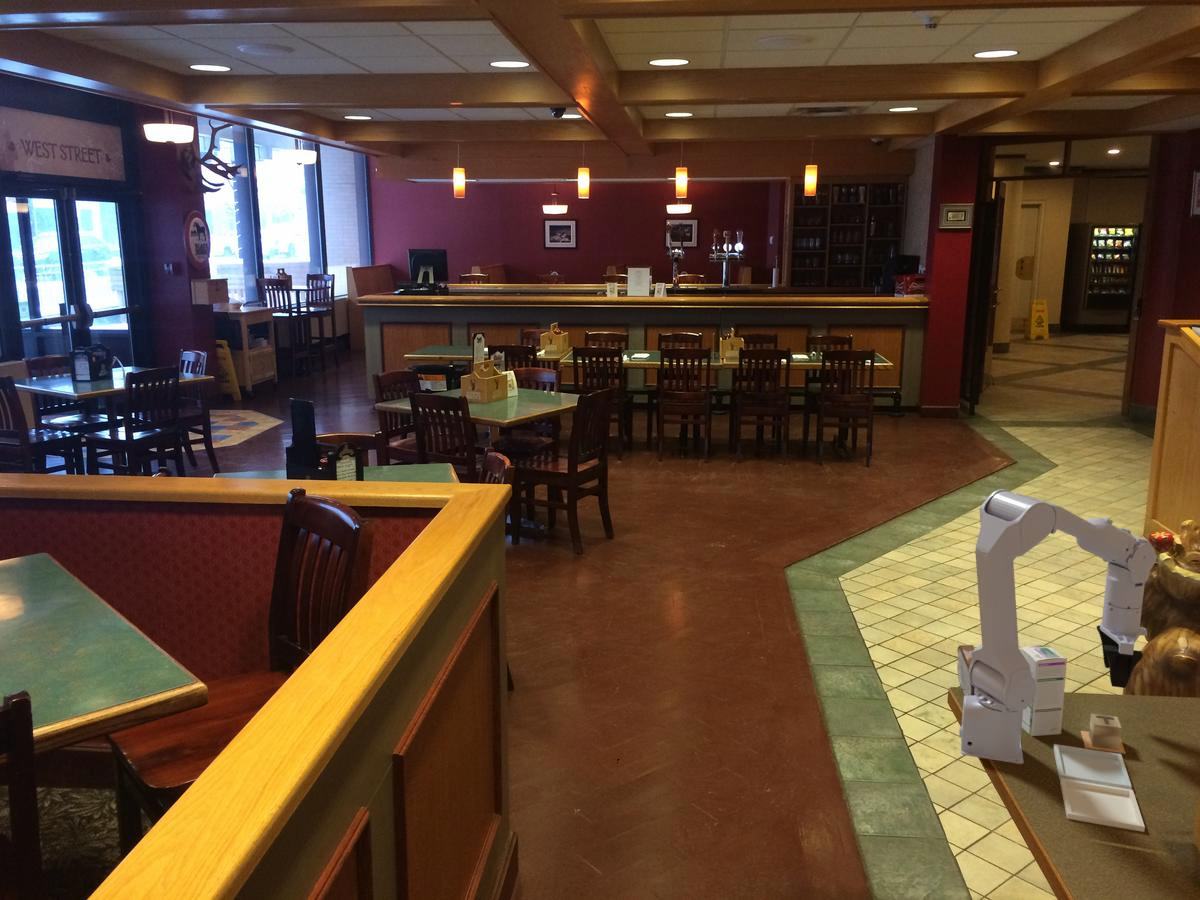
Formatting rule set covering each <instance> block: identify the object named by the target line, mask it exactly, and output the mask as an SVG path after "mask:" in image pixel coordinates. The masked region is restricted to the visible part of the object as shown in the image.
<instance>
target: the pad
mask: <svg viewBox="0 0 1200 900" xmlns="http://www.w3.org/2000/svg"><path fill="white" fill-rule="evenodd" d="M1080 734H1081V737H1082V741H1083V744H1084V749H1090V750H1097V751H1104V752H1110V753H1117V754H1124V755H1125V754H1126V751H1125V748H1124V747H1125V746H1124V745H1123V742H1122V739H1121V738H1122V737H1121V738H1120V747H1119V750H1116V749H1109V748H1102V747H1095V746H1092V743H1091V740H1090V737H1089V731H1086V730H1080Z"/></svg>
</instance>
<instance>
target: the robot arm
mask: <svg viewBox="0 0 1200 900" xmlns="http://www.w3.org/2000/svg"><path fill="white" fill-rule="evenodd" d="M979 520H980V522H979V523H980V529H979V533H978V536H977V540H976V544H975V551H974V552H975V553H974V554H975V566H976V567H975V568H976V581H977V592H978V593H977V594H978V607H979V622H980V631H981V632H980V634H981V645H979V646H976V647H975V649H974V650H973V651H972V652H971V656H972V660H971V664H970V667H969V671H968V678H969V681H970V683H971V684H972V685H973V686H974V687H975V689H974V693H975V694H976V695H973V696H964V695H963V702H962V717H961V726H959V733H958V734H959V738H960V754H961V755H963V756H969V757H975V758H980V759H987V760H994V761H997V762H1000V761H1001V762H1006V763H1011V764H1017V765H1023V764H1024V755H1023V747H1022V741H1021V738H1022V729H1023V728H1022V717H1023V709H1026V708H1027V706H1029V705H1030V703H1031V702H1032V701H1033V699H1034V697H1035V695H1036V689H1037V688H1036V682H1035V680H1034V678H1033V677H1032V675H1031V669H1030V665H1029V663H1028V662H1027V660H1026V659H1025V657H1024V656H1023V654H1022V653H1021V651H1020V647H1019V631H1018V616H1017V614H1018V613H1017V600H1016V599H1017V598H1016V581H1015V567H1014V566H1015V565H1014V564H1015V563H1014V562H1015V561H1014V560H1015V559H1016V558H1018V557H1022V556H1024V555H1026V553H1028V552H1030V550H1032V549H1034V547H1036V546H1037V545H1038V544H1040V543H1041V542H1043V540H1045V539H1046V538H1047V537H1049V535H1051V534H1052V535H1054V534H1056V533H1057V531H1060V532H1063V533H1065V534H1067V535H1070V536H1071V537H1073V538H1075V539H1076V544H1077V545H1078V547H1079V548H1080V549H1082V550H1083V551H1085V552H1087V553H1090V554H1091V555H1094V556H1096V557H1099V558H1100V559H1102V561H1103V562H1104V563H1107V570H1106V578H1105V586H1104V588H1105V590H1104V599H1103V608H1102V616H1101V622H1100V624H1099V625H1096V630H1097V632H1098V634H1099V637H1100V641H1101V647H1102V648H1101V649H1102V658H1103V664H1104V667H1105V668H1106V669H1109V681H1110V683H1111V687H1116V688H1123V689H1126V687H1127V685H1128V683H1129V681H1130V678H1131V675H1132V673H1133V671H1134V669H1135V668H1136V665H1138V664H1139V662H1141V660H1142V659H1143V655H1144V654H1143V651H1141V650H1137V649H1136V650H1135V649H1134V648H1135V647H1134V646H1135V643H1136V642H1137V640H1138V639H1139V637H1140V636H1147V635H1148V631H1147V628H1145V627H1141V620H1142V619H1141V618H1142V611H1143V610H1142V609H1143V602H1144V594H1145V585H1146V582H1147V581H1148V579H1149V578H1150V572H1151V570H1152V568H1153V567H1154V566H1155V563H1156V561H1157V558H1158V555H1157V554H1156V551H1155V548H1154V546H1153V545H1152V543H1151V542H1150V541H1149V540H1147V539H1144V538H1142V537H1138V536H1135V535H1133V534H1132V531H1131V530H1130V529H1127V528H1125V527H1121V528H1119V527H1118V526H1115V525H1114V524H1113V523H1114V521H1113V520H1112V519H1109V518H1107V517H1103V516H1101V517H1100V518H1099V517H1098V518H1097V517H1091V518H1088V519H1084V518H1083V517H1081V516H1079V515H1077V514H1075V513H1073V512H1071V511H1069V510H1067V509H1066V508H1064V507H1062V506H1060V505H1058V504H1055V503H1052V502H1049V501H1045V500H1042V499H1039V498H1036V497H1032V496H1028V495H1024V494H1021V493H1015V492H1012V491H1010V490H1008V489H1004V488H1002V489H1001V488H1000V489H997V490H994V491H993V492H992V493H990V495H989V496H987V498H986V499H985V500H984V502H983V503H982V504H981V505H980V507H979Z"/></svg>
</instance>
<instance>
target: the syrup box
mask: <svg viewBox="0 0 1200 900" xmlns="http://www.w3.org/2000/svg"><path fill="white" fill-rule="evenodd" d="M1019 650H1020V651H1021V653H1022V654H1023V656H1024V657H1025V659H1026V660H1027V662H1028V663H1029V665H1030V669H1031V675H1032V677H1033V678H1034V680H1035V682H1036V688H1037V689H1036V695H1035V697H1034V699H1033V701H1032V702H1031V703H1030V705H1029V706H1027V708H1026V709H1023V717H1022V728H1021V729H1023V730H1024V732H1026V733H1027V734H1028V735H1030V737H1036V736H1050V735H1051V736H1052V735H1053V736H1054V735H1061V734H1062V725H1063V714H1064V712H1063V711H1064V700H1065V689H1066V688H1065V687H1066V679H1067V675H1066V674H1067V663H1068V658H1067V657H1066V656H1064V655H1063V654H1061V653H1060V652H1058V651H1057V650H1056V649H1055V648H1053V647H1052V646H1050V645H1042V644H1040V645H1036V644H1035V645H1026V646H1020V647H1019Z"/></svg>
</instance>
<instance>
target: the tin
mask: <svg viewBox="0 0 1200 900" xmlns="http://www.w3.org/2000/svg"><path fill="white" fill-rule="evenodd" d="M974 649H976V647H975V646H974V644H962V645H961V644H960V645H958V647H957V676H958V682H959V686H960V689H961V691H962V694H963V697H964V696H973V695H976V694H975V693H974V689H975V687H974V686H973V685H972V684H971V683H970V681H969V678H968V671H969V667H970V664H971V660H972V656H971V652H972V651H973V650H974ZM962 689H965V690H962Z"/></svg>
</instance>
